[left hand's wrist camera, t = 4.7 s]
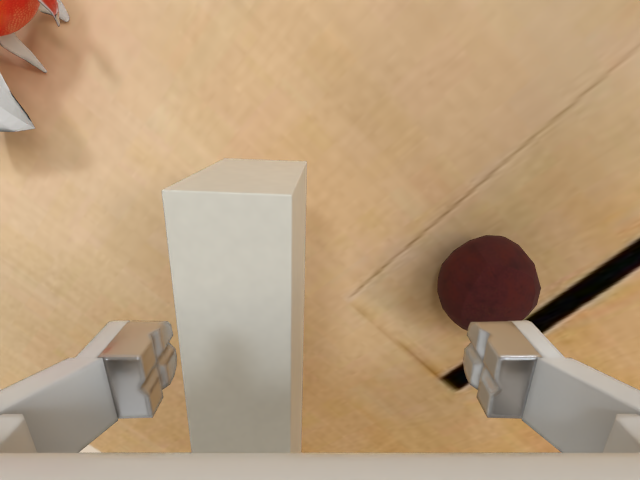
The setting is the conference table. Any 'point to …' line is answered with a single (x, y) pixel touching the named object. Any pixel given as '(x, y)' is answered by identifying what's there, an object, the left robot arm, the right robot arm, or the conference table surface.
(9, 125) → the fish
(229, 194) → the bar
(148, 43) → the conference table surface
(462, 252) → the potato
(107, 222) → the conference table surface
